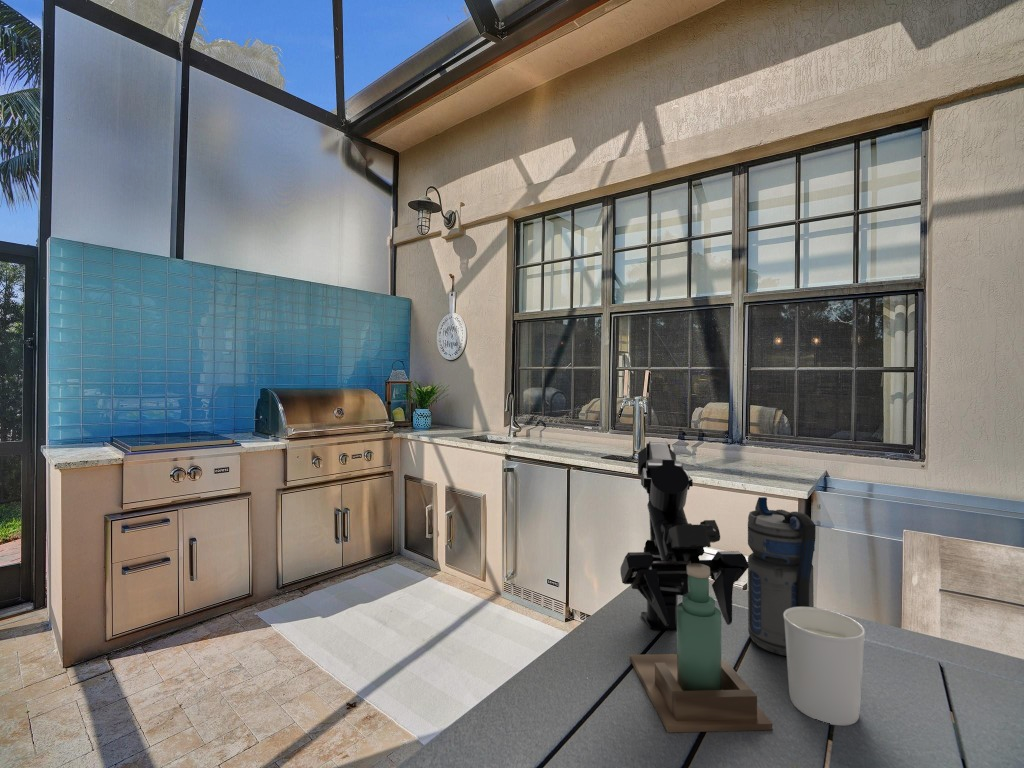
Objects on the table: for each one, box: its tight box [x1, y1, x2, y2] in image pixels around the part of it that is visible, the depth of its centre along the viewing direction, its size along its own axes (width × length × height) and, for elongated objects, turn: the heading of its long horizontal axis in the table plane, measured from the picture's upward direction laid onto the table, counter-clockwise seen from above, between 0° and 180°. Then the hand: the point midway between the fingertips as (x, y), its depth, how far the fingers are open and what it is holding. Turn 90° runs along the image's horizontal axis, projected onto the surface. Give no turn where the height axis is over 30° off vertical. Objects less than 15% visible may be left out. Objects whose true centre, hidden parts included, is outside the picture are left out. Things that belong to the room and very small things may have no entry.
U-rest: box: [629, 653, 773, 733], centre depth 73 cm, size 18×14×4 cm
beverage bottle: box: [747, 496, 816, 657], centre depth 86 cm, size 10×13×25 cm
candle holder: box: [783, 607, 866, 727], centre depth 69 cm, size 10×10×12 cm
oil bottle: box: [676, 563, 722, 691], centre depth 71 cm, size 6×6×18 cm
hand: (698, 624), depth 71 cm, fingers open, 9 cm apart
